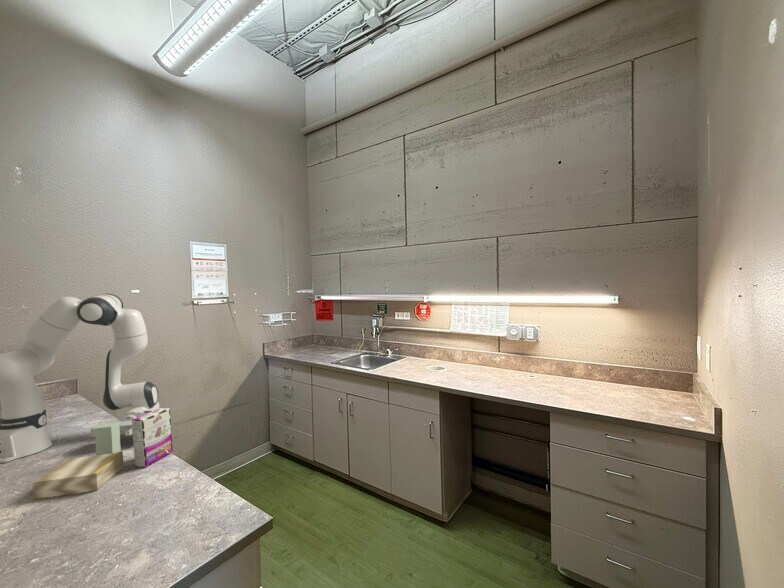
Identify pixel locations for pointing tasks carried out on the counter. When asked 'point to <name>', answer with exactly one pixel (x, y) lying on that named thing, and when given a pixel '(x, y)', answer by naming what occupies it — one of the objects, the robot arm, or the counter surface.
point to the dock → (78, 475)
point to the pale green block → (107, 438)
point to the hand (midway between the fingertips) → (112, 435)
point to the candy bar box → (152, 436)
